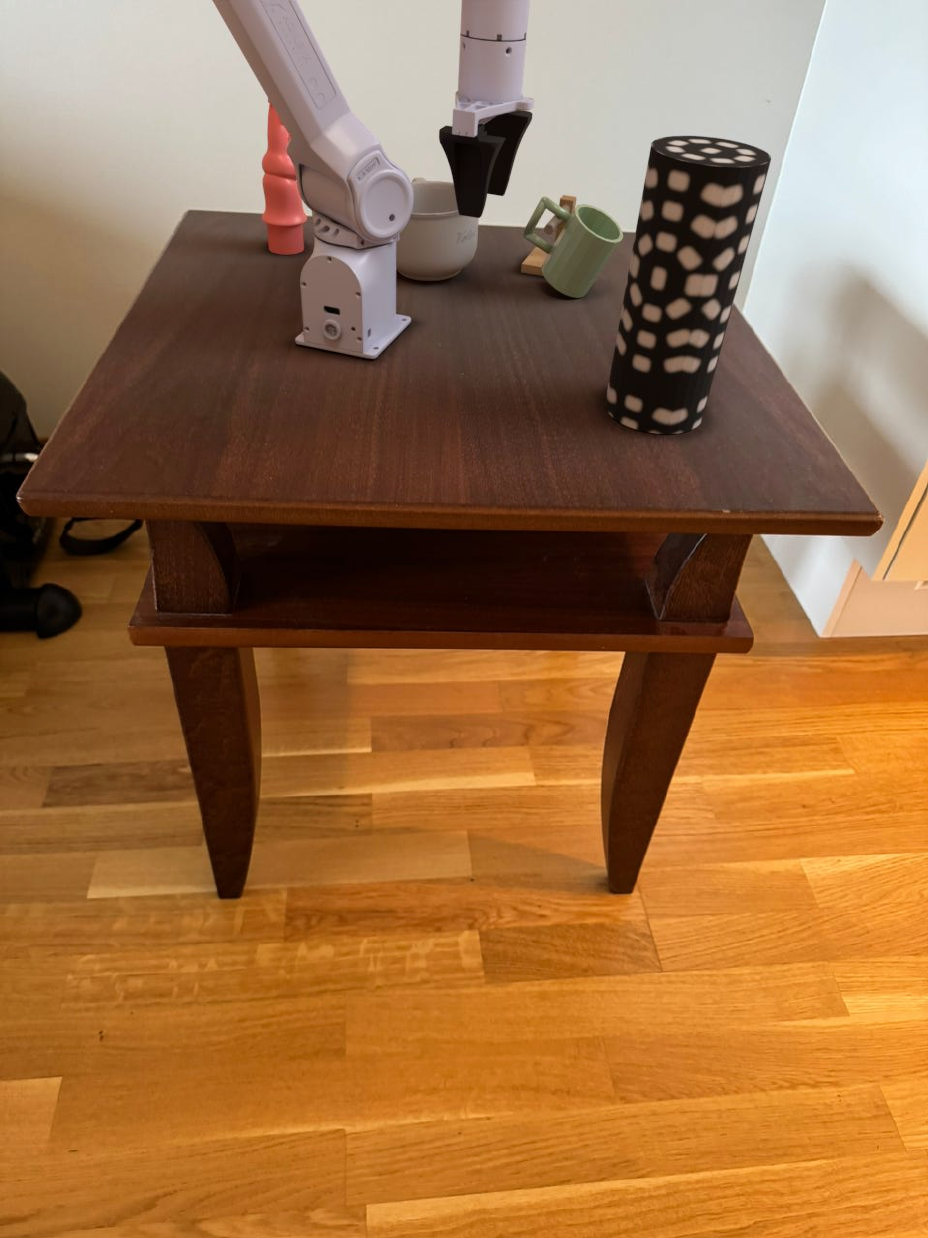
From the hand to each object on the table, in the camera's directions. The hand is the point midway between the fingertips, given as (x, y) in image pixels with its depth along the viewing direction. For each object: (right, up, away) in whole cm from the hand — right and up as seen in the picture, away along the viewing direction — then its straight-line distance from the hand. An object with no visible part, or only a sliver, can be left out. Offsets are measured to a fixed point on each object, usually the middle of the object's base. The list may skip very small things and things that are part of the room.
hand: (482, 204), depth 84 cm
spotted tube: (+14, -22, -9) cm, 28 cm away
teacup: (-6, -1, +13) cm, 14 cm away
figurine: (-22, +2, +15) cm, 26 cm away
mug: (+7, -3, +9) cm, 12 cm away
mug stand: (+7, -2, +12) cm, 14 cm away
